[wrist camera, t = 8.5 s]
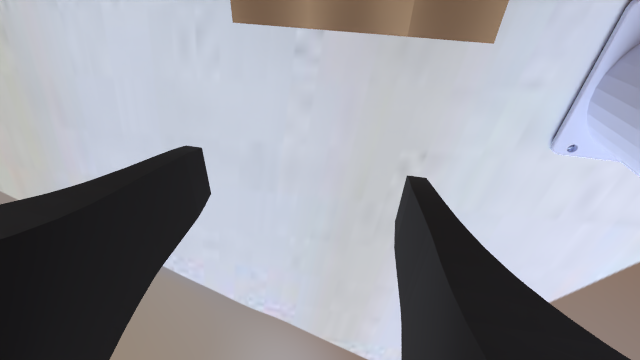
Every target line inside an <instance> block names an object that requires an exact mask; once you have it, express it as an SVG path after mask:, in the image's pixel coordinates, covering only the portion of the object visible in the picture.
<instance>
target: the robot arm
mask: <svg viewBox="0 0 640 360" xmlns="http://www.w3.org/2000/svg"><path fill="white" fill-rule="evenodd" d="M571 145H574V147H573V148H571V149H567V148H568V147H569V146H571ZM550 147H551V150H552V151H553V152H554V153H555V154H558V155H565V156H574V157H582V158H590V159H599V160H607V161H615V162H621V163H622V164H624V165H625V166H626V167H627V168H629V169H630V170H631V171H632V172H634V173H635V174H636V175H637V176H639V177H640V0H633V1H632V2H631V3H629V5H628V6H627V7H626V9H625V11H624V13H623V14H622V16H621V18H620V20H619V22H618V23H617V25H616V27H615V29H614V31H613V32H612V34H611V36H610V38H609V40H608V42H607V43H606V45H605V47H604V49H603V51H602V52H601V54H600V56H599V58H598V60H597V62H596V63H595V65H594V67H593V69H592V71H591V72H590V74H589V76H588V78H587V80H586V82H585V83H584V85H583V87H582V89H581V91H580V92H579V94H578V96H577V98H576V100H575V102H574V103H573V105H572V107H571V109H570V111H569V112H568V114H567V116H566V118H565V120H564V122H563V123H562V125H561V127H560V129H559V131H558V132H557V134H556V136H555V138H554V140H553V141H552V143H551V146H550ZM210 195H211V191H210V186H209V181H208V176H207V171H206V166H205V161H204V156H203V151H202V148H199V147H192V146H183V147H179V148H176V149H173V150H170V151H168V152H165V153H162V154H160V155H157V156H155V157H152V158H149V159H147V160H144V161H142V162H139V163H137V164H134V165H131V166H129V167H126V168H124V169H121V170H118V171H115V172H113V173H110V174H107V175H104V176H102V177H99V178H96V179H93V180H90V181H87V182H84V183H81V184H78V185H75V186H72V187H68V188H65V189H61V190H58V191H54V192H51V193H47V194H43V195H39V196H35V197H31V198H26V199H22V200H18V201H14V202H10V203H5V204H1V205H0V360H109V359H110V357H111V355H112V354H113V352H114V349H115V348H116V346H117V344H118V342H119V340H120V338H121V336H122V334H123V332H124V330H125V328H126V326H127V324H128V323H129V321H130V319H131V317H132V315H133V314H134V312H135V310H136V308H137V306H138V304H139V303H140V301H141V299H142V298H143V296H144V294H145V292H146V291H147V289H148V287H149V286H150V284H151V282H152V281H153V279H154V277H155V276H156V274H157V273H158V271H159V270H160V268H161V267H162V266H163V264H164V263H165V261H166V260H167V259H168V257H169V256H170V255H171V253H172V252H173V251H174V249H175V248H176V247H177V245H178V244H179V243H180V241H181V240H182V239H183V237H184V236H185V235H186V233H187V232H188V231H189V229H190V228H191V227H192V225H193V224H194V223H195V221H196V220H197V218H198V217H199V215H200V214H201V212H202V210H203V208H204V207H205V205H206V203H207V201H208V199H209V197H210ZM394 248H395V259H396V269H397V279H398V288H399V298H400V307H401V323H402V360H630V359H629V358H627V357H626V356H624V355H622V354H621V353H619V352H618V351H616V350H615V349H613V348H611V347H610V346H609V345H607V344H606V343H604V342H603V341H601V340H600V339H598V338H597V337H595V336H594V335H592V334H591V333H590V332H588V331H587V330H585V329H584V328H583V327H581V326H580V325H578V324H577V323H575V322H574V321H573V320H571V319H570V318H568V317H567V316H566V315H564V314H563V313H562V312H560V311H559V310H558V309H556V308H555V307H553V306H552V305H551V304H549V303H548V302H547V301H546V300H544V299H543V298H542V297H541V296H539V295H538V294H537V293H536V292H534V291H533V290H532V289H531V288H529V287H528V286H527V285H526V284H524V283H523V282H522V281H521V280H520V279H518V278H517V277H516V276H515V275H514V274H512V273H511V272H510V271H509V270H508V269H507V268H506V267H505V266H504V265H503V264H501V263H500V262H499V261H498V260H497V259H496V258H495V257H494V256H493V255H492V254H491V253H490V252H489V251H488V250H486V249H485V248H484V247H483V246H482V245H481V244H480V242H479V241H478V240H477V239H476V238H475V237H474V236H473V235H472V234H471V233H470V232H469V231H468V230H467V229H466V227H465V226H464V225H463V224H462V223H461V222H460V221H459V219H458V218H457V217H456V216H455V215H454V213H453V212H452V211H451V210H450V208H449V207H448V206H447V205H446V203H445V202H444V201H443V200H442V198H441V197H440V196H439V194H438V193H437V192H436V190H435V189H434V188H433V186H432V185H431V184H430V182H429V181H428V180H427V178H422V177H414V176H407V178H406V182H405V186H404V189H403V193H402V197H401V201H400V205H399V209H398V213H397V217H396V220H395V245H394Z"/></svg>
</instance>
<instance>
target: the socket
mask: <svg viewBox="0 0 640 360" xmlns="http://www.w3.org/2000/svg"><path fill="white" fill-rule="evenodd" d="M230 1H231V10H232V19H233V23H246V24H258V25H271V26H283V27H295V28H308V29H320V30H332V31H345V32H357V33H370V34H382V35H394V36H407V37H419V38H431V39H444V40H456V41H469V42H481V43H493V44H494V41H495V38H496V36H497V33H498V30H499V27H500V24H501V21H502V18H503V16H504V13H505V10H506V7H507V4H508V1H509V0H230Z"/></svg>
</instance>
